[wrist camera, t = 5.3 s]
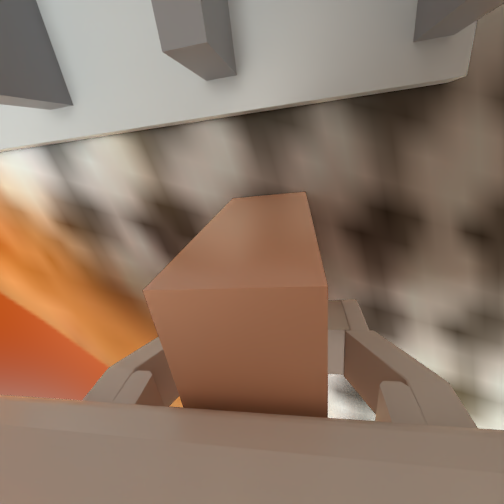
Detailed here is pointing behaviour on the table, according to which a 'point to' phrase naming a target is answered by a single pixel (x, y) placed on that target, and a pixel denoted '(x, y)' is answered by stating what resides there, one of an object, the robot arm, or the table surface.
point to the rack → (212, 59)
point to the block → (248, 311)
